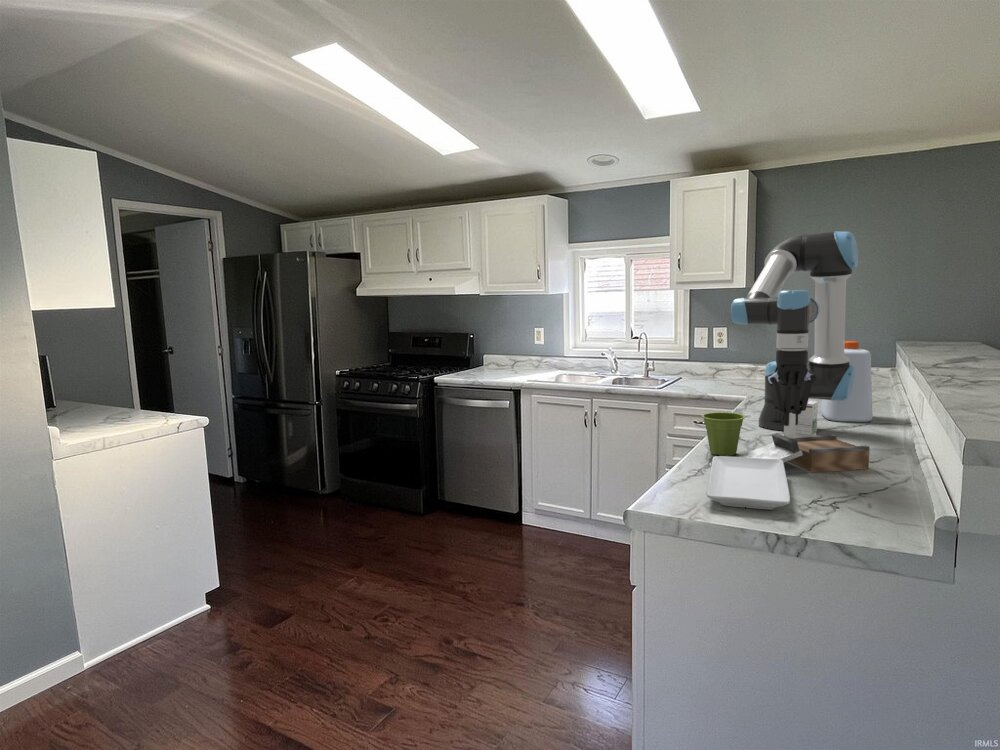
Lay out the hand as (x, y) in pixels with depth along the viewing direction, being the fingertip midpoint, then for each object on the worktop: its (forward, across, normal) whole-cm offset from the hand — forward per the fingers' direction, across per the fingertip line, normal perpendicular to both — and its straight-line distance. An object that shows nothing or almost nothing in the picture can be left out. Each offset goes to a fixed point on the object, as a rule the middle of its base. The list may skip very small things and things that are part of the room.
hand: (789, 437), depth 160 cm
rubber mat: (+8, -7, 0) cm, 11 cm away
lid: (+5, -6, 0) cm, 8 cm away
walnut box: (+8, +10, 0) cm, 13 cm away
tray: (+8, -21, -17) cm, 28 cm away
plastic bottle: (+8, +55, +51) cm, 76 cm away
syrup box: (+8, +14, +14) cm, 22 cm away
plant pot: (+8, -11, +16) cm, 21 cm away
